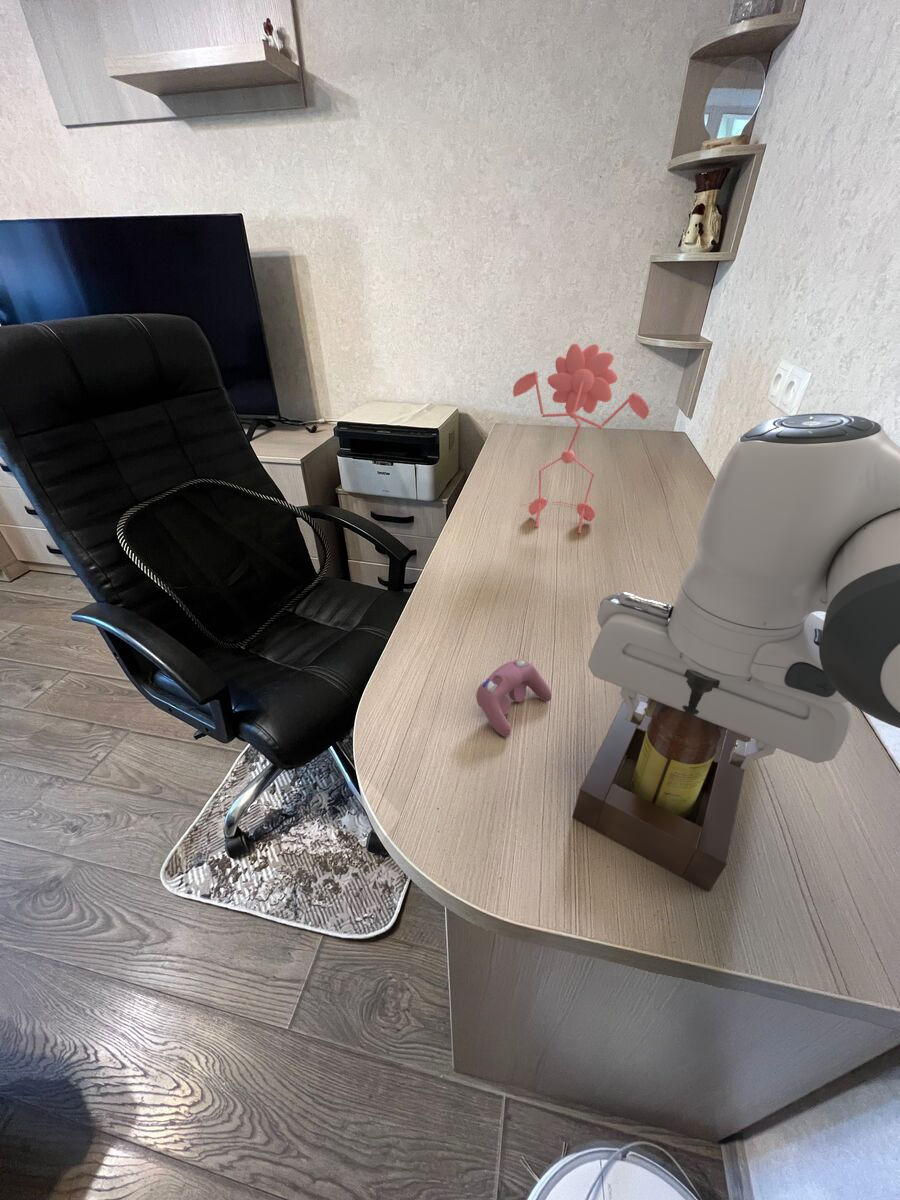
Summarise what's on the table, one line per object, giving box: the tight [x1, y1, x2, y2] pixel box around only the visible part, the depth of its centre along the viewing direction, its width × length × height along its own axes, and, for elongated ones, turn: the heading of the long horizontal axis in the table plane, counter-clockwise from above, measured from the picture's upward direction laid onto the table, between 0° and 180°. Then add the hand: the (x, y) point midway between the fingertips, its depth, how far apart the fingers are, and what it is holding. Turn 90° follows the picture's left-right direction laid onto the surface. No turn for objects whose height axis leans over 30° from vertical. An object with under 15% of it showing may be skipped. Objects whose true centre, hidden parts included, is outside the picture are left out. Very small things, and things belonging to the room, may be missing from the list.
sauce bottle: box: [630, 669, 721, 820], centre depth 48 cm, size 7×6×20 cm
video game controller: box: [475, 659, 552, 738], centre depth 64 cm, size 10×5×7 cm, turn 135°
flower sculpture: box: [512, 343, 650, 538], centre depth 102 cm, size 15×26×35 cm, turn 74°
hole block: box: [572, 694, 752, 893], centre depth 56 cm, size 14×24×5 cm, turn 147°
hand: (684, 739), depth 48 cm, fingers open, 8 cm apart
